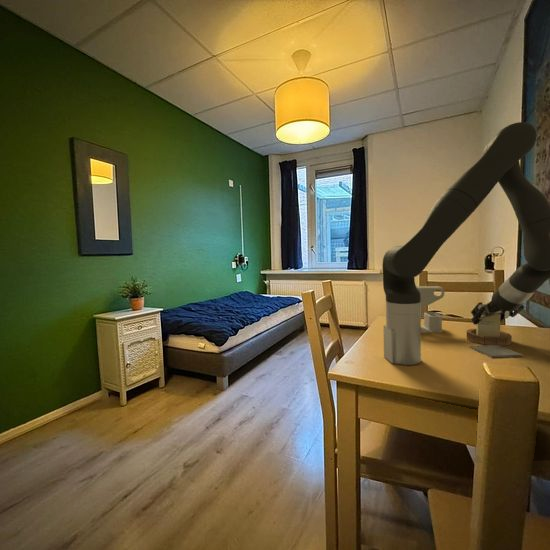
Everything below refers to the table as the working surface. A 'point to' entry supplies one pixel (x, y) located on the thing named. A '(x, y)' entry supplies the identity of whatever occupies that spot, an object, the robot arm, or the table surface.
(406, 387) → the table surface
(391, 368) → the table surface
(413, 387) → the table surface
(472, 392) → the table surface
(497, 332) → the skincare box
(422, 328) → the phone holder
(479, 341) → the walnut ring stand
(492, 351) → the slate coaster
